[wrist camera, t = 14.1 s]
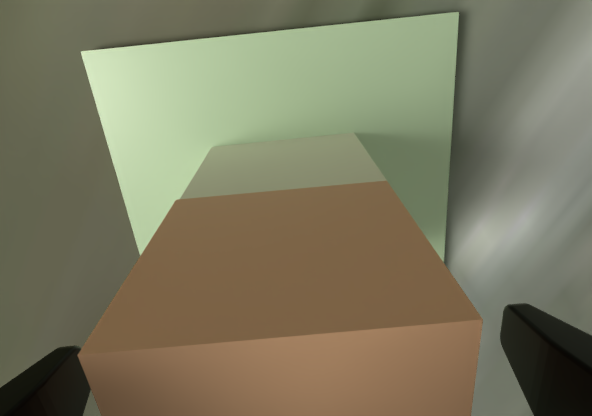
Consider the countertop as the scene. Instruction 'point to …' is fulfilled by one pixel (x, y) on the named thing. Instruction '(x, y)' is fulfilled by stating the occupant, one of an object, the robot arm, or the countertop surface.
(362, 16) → the countertop surface
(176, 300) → the terracotta brick
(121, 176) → the plate
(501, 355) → the countertop surface
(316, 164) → the cream brick
